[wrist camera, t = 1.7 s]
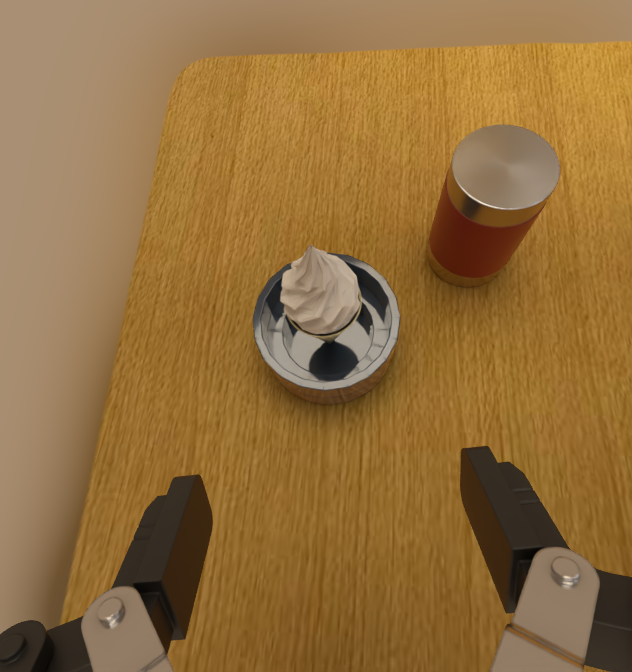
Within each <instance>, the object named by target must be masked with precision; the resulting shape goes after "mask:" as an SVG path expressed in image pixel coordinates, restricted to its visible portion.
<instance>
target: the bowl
mask: <svg viewBox="0 0 632 672" xmlns="http://www.w3.org/2000/svg"><path fill="white" fill-rule="evenodd" d="M327 254H330V255H334V256H337V257H338V258H339V259H341V260H343V261H344V262H345V263H346V264H347V265H348V267H349V268H350V269H351V270H352V271H353V272H354V274H355V275H356V276H357V282H358V287H359V289H360V292H361V298H362V304H361V310H360V313H359V315H358V317H357V319H356V320H355V322H354V323H353V324H352V325H351V326H350V327H349V328H348V329H347V330H345V331H344V332H342V333H341V334H340V335H339V336H338V337H337V338H336V339H335V340H334V341H333V342H332V343H330V344H329V343H326V342H324V341H322V340H320V339H318V338H316V337H313V336H309V335H306V334H304V333H302V332H301V331H299V330H297V329H296V328H295V327H294V326H293V325H292V323H291V322H290V321H289V319H288V317H287V315H286V313H285V312H284V307H285V305H284V304H283V303H282V302H281V301H280V297H281V291H282V289H283V288H282V286H281V285H282V278H283V274H284V273H285V272H286V271H287V270H290V269H292V267H291V264H292V262H291V263H289V264H287V265H286V266H284V267H283V268H282V269H281V270H280V271H278V272H277V273H276V274H275V275H274V276H273V277H271V278H270V280H269V281H268V282H267V284H266V285H265V287H264V289H263V290H262V292H261V293H260V295H259V297H258V299H257V303H256V307H255V311H254V315H253V328H254V339H255V342H256V344H257V346H258V349H259V351H260V353H261V355H262V357H263V359H264V361H265V362H266V364H267V365H268V367H269V368H270V370H271V371H272V373H273V374H274V375H275V377H276V378H277V379H278V380H279V381H280V382H281V383H282V385H283V386H284V387H285V388H286V389H287V390H288V391H290V392H291V393H293V394H295V395H297V396H299V397H300V398H302V399H304V400H306V401H309V402H315V403H321V404H329V405H330V404H337V403H344V402H349V401H352V400H354V399H356V398H358V397H360V396H362V395H364V394H366V393H367V392H369V391H370V390H371V389H372V388H373V387H374V386H375V385H376V384H377V383H378V382H379V381H380V380H381V379H382V378H383V377H384V375H385V373H386V371H387V369H388V367H389V365H390V363H391V361H392V358H393V354H394V350H395V347H396V343H397V339H398V332H399V325H400V313H399V308H398V304H397V299H396V296H395V294H394V292H393V291H392V289H391V287H390V286H389V284H388V282H387V281H386V279H385V278H384V277H383V276H382V275H381V274H379V273H378V272H377V271H376V270H375V269H374V268H373V267H371V266H370V265H368V264H367V263H365V262H363V261H360V260H358V259H356V258H354V257H351V256H349V255H342V254H334V253H327Z"/></svg>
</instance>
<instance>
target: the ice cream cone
mask: <svg viewBox="0 0 632 672" xmlns="http://www.w3.org/2000/svg"><path fill="white" fill-rule="evenodd" d="M291 267H292V269H290V270H287V271H286V272H285V273H284V274H283V278H282V285H281V286H282V288H283V289H282V291H281V297H280V301H281V302H282V303H283V304H284V305H285V307H284V312H285V313H286V315H287V317H288V319H289V321H290V322H291V323H292V325H293V326H294V327H295V328H296V329H297V330H299V331H301V332H302V333H304V334H306V335H309V336H313V337H316V338H318V339H320V340H322V341H324V342H326V343H329V344H330V343H332V342H333V341H334V340H335V339H336V338H337V337H338V336H339V335H340V334H341V333H342V332H344V331H345V330H347V329H348V328H349V327H350V326H351V325H352V324H353V323H354V322H355V320H356V319H357V317H358V315H359V313H360V310H361V304H362V298H361V292H360V289H359V287H358V282H357V276H356V275H355V274H354V272H353V271H352V270H351V269H350V268H349V267H348V265H347V264H346V263H345V262H344V261H343V260H341V259H339V258H338V257H337V256H334V255H330V254H327V253H326V252H325V251H324V250H318V249H316V248H315V247H313V246H312V245H309V247H308V249H307V250H306V252H305V253H304V254H303V257H301V258H300V259H298V260H296V261H294V262H292V264H291Z"/></svg>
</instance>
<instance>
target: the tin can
mask: <svg viewBox="0 0 632 672" xmlns="http://www.w3.org/2000/svg"><path fill="white" fill-rule="evenodd" d="M559 176H560V165H559V160H558V157H557V155H556V153H555V151H554V149H553V148H552V147H551V145H550V144H549V143H548V142H547V141H546V140H545V139H543V138H542V137H541V136H539V135H538V134H536V133H534V132H532V131H530V130H528V129H525V128H522V127H518V126H513V125H493V126H487V127H484V128H481V129H478V130H476V131H474V132H472V133H471V134H469V135H468V136H466V137H465V138H464V139H463V140H462V141H461V142H460V143H459V145H458V146H457V148H456V150H455V152H454V154H453V158H452V161H451V165H450V168H449V170H448V172H447V175H446V179H445V182H444V186H443V189H442V193H441V196H440V200H439V203H438V207H437V210H436V214H435V217H434V221H433V224H432V228H431V231H430V237H429V241H428V245H427V258H428V262H429V264H430V266H431V268H432V269H433V271H434V272H435V273H436V274H437V275H438V276H439V277H440V278H441V279H443V280H444V281H446V282H448V283H450V284H452V285H455V286H459V287H477V286H481V285H484V284H486V283H488V282H490V281H492V280H493V279H494V278H496V277H497V276H498V275H499V273H500V272H501V270H502V269H503V267H504V266H505V265H506V264H507V262H508V261H509V260H510V258H511V256H512V255H513V253H514V252H515V250H516V249H517V247H518V246H519V244H520V243H521V241H522V240H523V238H524V237H525V235H526V234H527V232H528V231H529V229H530V227H531V226H532V224H533V223H534V221H535V220H536V218H537V217H538V215H539V214H540V212H541V211H542V209H543V208H544V206H545V204H546V202H547V200H548V198H549V197H550V195H551V194H552V192H553V191H554V189H555V187H556V185H557V183H558V180H559Z"/></svg>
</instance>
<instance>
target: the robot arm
mask: <svg viewBox="0 0 632 672" xmlns="http://www.w3.org/2000/svg"><path fill="white" fill-rule="evenodd" d="M460 490H461V497H462V502H463V505H464V508H465V511H466V513H467V516H468V519H469V521H470V524H471V526H472V529H473V531H474V534H475V536H476V539H477V541H478V544H479V546H480V549H481V551H482V554H483V556H484V559H485V561H486V564H487V566H488V569H489V571H490V574H491V576H492V579H493V582H494V584H495V587H496V589H497V592H498V594H499V597H500V599H501V602H502V604H503V607H504V609H505V612H506V613H514V616H513V618H512V621H511V623H510V625H509V624H507V626H506V627H505V629H504V632H503V635H502V637H501V640H500V643H499V646H498V649H497V651H496V654H495V657H494V660H493V663H492V666H491V668H490V671H489V672H583V669H584V665H587V666H590V667H594V668H598V669H602V670H606V671H610V672H632V577H627V576H622V575H617V574H612V573H608V572H604V571H601V570H598V569H596V568H594V567H593V566H592V564H591V563H590V562H589V561H588V560H587V559H585V558H584V557H583V556H581V555H580V554H578V553H576V552H574V551H572V550H570V548H569V547H568V546H567V544H566V542H565V541H564V539H563V537H562V536H561V534H560V532H559V531H558V529H557V527H556V526H555V524H554V522H553V521H552V519H551V517H550V516H549V514H548V513H547V511H546V509H545V508H544V506H543V504H542V503H541V502H540V499H539V498H538V496H537V494H536V493H535V491H533V488H532V486H531V484H530V483H529V481H528V479H527V478H526V476H525V475H524V473H523V472H521V471H520V470H519V469H518V468H516V467H515V466H514V465H513V464H511V463H510V462H502V463H497V461H496V459H495V457H494V455H493V453H492V452H491V450H490V448H489V447H488V446H482V447H472V448H463V449H462V450H461V474H460ZM212 524H213V519H212V511H211V507H210V504H209V500H208V497H207V494H206V491H205V487H204V484H203V481H202V478H201V476H200V475H190V476H180V477H175V478H174V479H173V480H172V482H171V485H170V488H169V490H168V493H167V495H164V496H157V498H156V499H155V500H154V501H153V502H152V503H151V504H150V505H149V507H148V508H147V509H146V510H145V512H144V514H143V517H142V519H141V521H140V524H139V528H137V531H136V533H135V535H134V540H133V541H132V542H131V545H130V547H129V549H128V552H127V554H126V556H125V559H124V561H123V563H122V566H121V568H120V570H119V572H118V575H117V577H116V579H115V582H114V584H113V586H112V588H111V589H110V590H108V591H106V592H104V593H103V594H102V595H100V596H99V597H98V598H97V599H95V600H94V601H93V603H92V604H91V605H90V606H89V607H88V609H87V610H86V612H85V614H84V616H82V617H80V618H78V619H75V620H73V621H70V622H68V623H65V624H63V625H60V626H58V627H55V628H53V629H50V630H47V631H46V629H45V627H44V626H43V624H41V623H40V622H38V621H33V620H30V621H24V622H21V623H18V624H16V625H14V626H12V627H10V628H9V629H7V630H6V631H4V632H3V633H1V634H0V672H174V670H173V668H172V665H171V663H170V661H169V659H168V656H167V654H168V650H169V646H170V643H171V640H183V639H185V638H186V634H187V630H188V626H189V622H190V618H191V614H192V610H193V606H194V602H195V597H196V593H197V589H198V585H199V581H200V577H201V573H202V569H203V565H204V561H205V557H206V553H207V549H208V545H209V540H210V536H211V532H212Z"/></svg>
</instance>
